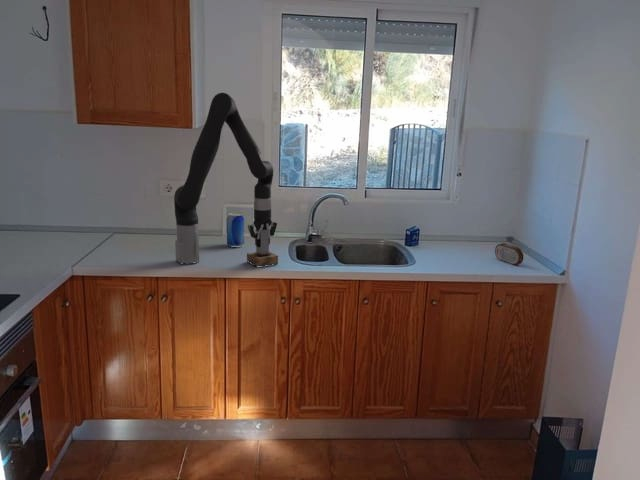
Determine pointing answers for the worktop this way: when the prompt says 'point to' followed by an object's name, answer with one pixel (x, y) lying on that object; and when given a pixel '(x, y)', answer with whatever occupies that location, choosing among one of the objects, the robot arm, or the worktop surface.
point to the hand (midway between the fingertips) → (262, 246)
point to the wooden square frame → (262, 259)
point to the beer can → (235, 229)
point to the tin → (509, 254)
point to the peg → (263, 242)
